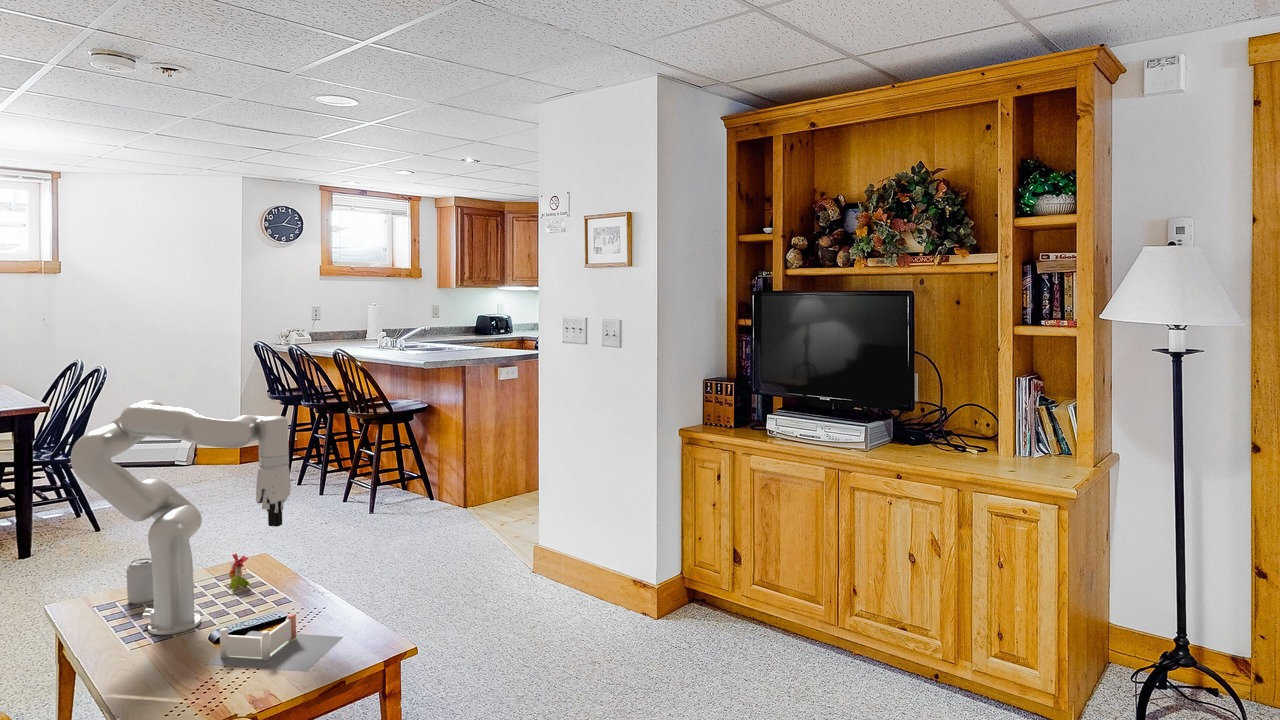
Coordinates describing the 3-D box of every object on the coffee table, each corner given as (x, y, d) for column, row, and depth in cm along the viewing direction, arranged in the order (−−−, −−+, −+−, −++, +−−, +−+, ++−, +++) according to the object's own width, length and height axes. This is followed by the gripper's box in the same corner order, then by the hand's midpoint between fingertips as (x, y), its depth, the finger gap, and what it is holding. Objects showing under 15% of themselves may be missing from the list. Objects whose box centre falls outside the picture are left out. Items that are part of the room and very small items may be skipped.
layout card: (205, 666, 192) (205, 664, 192) (251, 633, 211) (250, 630, 211) (306, 673, 190) (306, 670, 190) (343, 639, 208) (343, 636, 208)
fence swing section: (272, 655, 196) (272, 632, 196) (265, 654, 197) (265, 631, 196) (297, 636, 207) (297, 614, 207) (290, 635, 207) (290, 613, 207)
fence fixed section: (218, 657, 195) (218, 630, 195) (223, 654, 197) (222, 627, 197) (267, 661, 194) (266, 634, 194) (271, 657, 196) (270, 630, 195)
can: (147, 605, 227) (145, 565, 226) (121, 604, 228) (120, 564, 226) (163, 595, 235) (161, 556, 234) (138, 594, 235) (137, 556, 234)
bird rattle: (223, 594, 242) (231, 590, 236) (217, 558, 244) (226, 554, 238) (244, 589, 246) (253, 585, 240) (239, 554, 248) (248, 549, 242)
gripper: (276, 454, 224) (277, 517, 225) (245, 466, 209) (246, 533, 211) (301, 455, 223) (302, 518, 225) (271, 467, 208) (273, 534, 210)
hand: (275, 525), depth 218 cm, fingers closed
